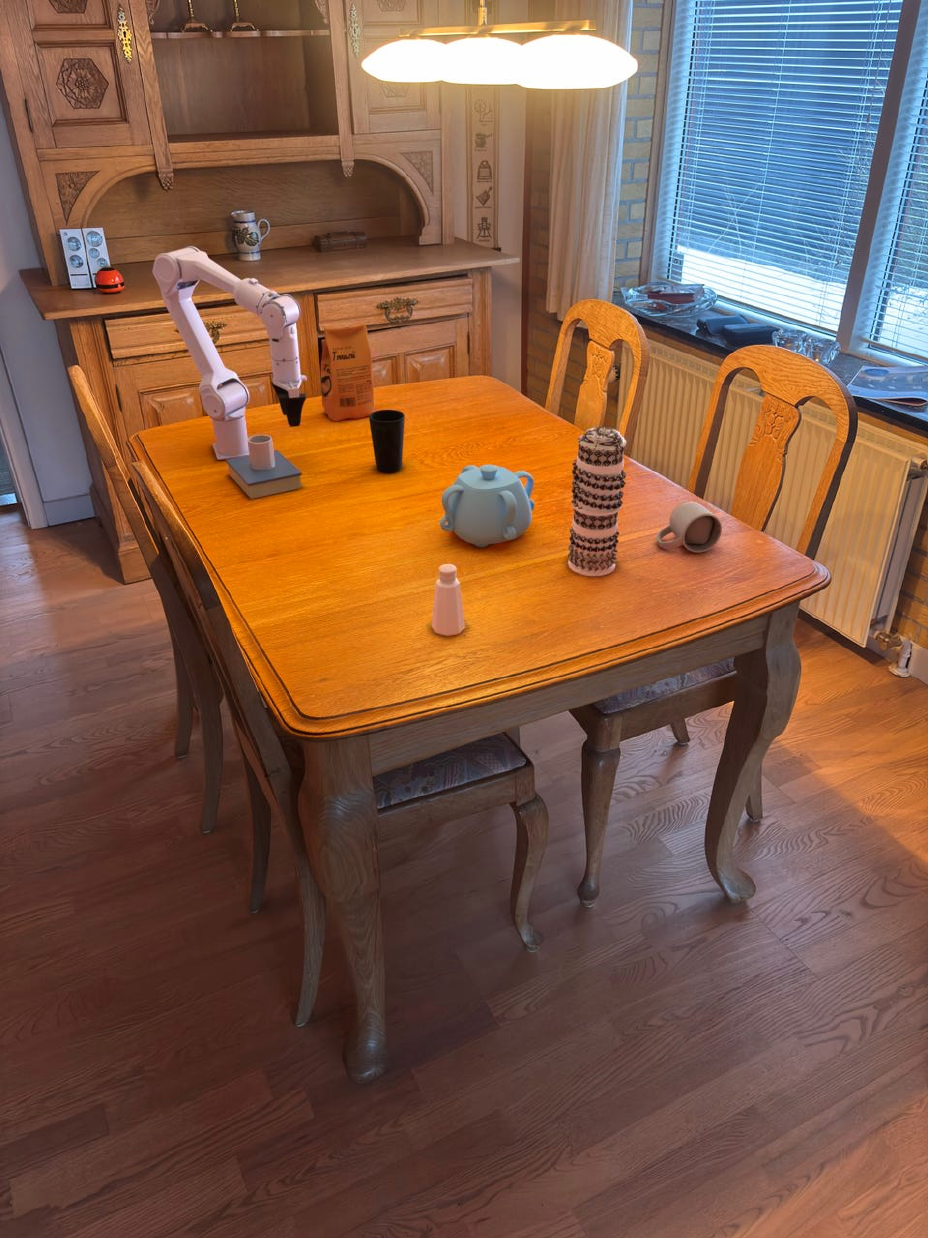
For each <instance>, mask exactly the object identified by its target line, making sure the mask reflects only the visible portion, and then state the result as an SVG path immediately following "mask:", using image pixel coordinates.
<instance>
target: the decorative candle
mask: <svg viewBox="0 0 928 1238" xmlns="http://www.w3.org/2000/svg"><path fill="white" fill-rule="evenodd" d="M577 442H578V451H577V456H576V459H574V460H573V463H572V466H573V467H572V468H573V469H572V470H571V474H572V475H573V477H572V481H571V484H572V489H571V490H570V491H571V493H572V500H571V505H572V507H573V518H572V522H571V523H572V524H571V528H570V529H569V532H570V536H569V538H568V539H569V541H570V542H569V545H568V551H569V552H568V554H567V557H568V561H567V565H568V567H569V569H570V570H572V572H574V573H576V574H579V575H582V576H586V577H602V576H606V575H610V573H612V572H614V571H615V569H616V560H618V557H617V553H618V551H619V550H618V548H617V546H618V543H619V539H618V537H619V535H620V532H619V531H618V530H619V529H618V526H619V521H618V517H619V511H621V509H622V505H623V504H624V502H623V500H622V498H623V497H624V495H625V493H624V492H623V491H622V490H621V489H623V488H625V486H626V485H627V484H626V481H625V479H626V478H627V472H625V470H624V469H623V468H624V467H625V466H624V465H625V458H624V453H625V447H626V446H627V444H628V441H627V439H626V438H625V437H623V436H622V435H621V433H620V432H619V431H618V430H617V429H615V428H611V427H606V426H596V427H591V428H589V429H587V430H586V431H585V432H584V433H583V434H582V435H580V436H579V437H578V438H577Z"/></svg>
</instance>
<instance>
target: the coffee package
mask: <svg viewBox="0 0 928 1238" xmlns="http://www.w3.org/2000/svg"><path fill="white" fill-rule="evenodd" d="M323 330H324V331H323V332H324V338H325V339H323V349H322V352H321V361H320V393H321V395H320V396H321V406H322V408H323V410H324V412H325V415H327V417H328V419H330V420H332V421H334V422H339V421H343V420H347V419H353V420H358V419H363V418H366V417H369V415H370V414H371V413H373V412H376V410H375V389H374V376H373V374H374V373H373V358H372V350H371V348H370V342H369V339H368V337H369V335H368V334H369V333H368V329H367V325H366V323H365V322H360V323H357V324H355V325H352V326H348V327H332V326H330V327H327V326H324V327H323Z"/></svg>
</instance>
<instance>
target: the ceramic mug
mask: <svg viewBox="0 0 928 1238" xmlns="http://www.w3.org/2000/svg"><path fill="white" fill-rule="evenodd" d="M722 531H723V526H722V522H721V520H720V518H719V517H718V516H716V515H715V514H714V513H713V512H712V511H710V510H709V509H708V508H706V507H705V506H704V505H702V504H701V503H698V502H695V501H691V500H689V501H684V502H682V503H680V504H678V505H677V506H676V507H674V509H673V510H672V512H671V513H670V516H669V525H666V526H665V527H664V528H662V529H660V530H659V531H658V532H657V534H656V541H657V544H658V547H660V548H661V549H663V550H672V549H675V548H678V547H681V546H683V547H684V548H685V549H686V550H688V551H689V552H691V553H698V554H699V553H704V552H708V551H709V550H712V548H713V547H715V546H716V545H717V544H718V543H719V541H720V539H721V536H722ZM671 533H673V535H674V536H675V539H673V540H669V541H663V538H664V537H666V536H667V535H669V534H671Z"/></svg>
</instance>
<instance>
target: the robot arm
mask: <svg viewBox="0 0 928 1238" xmlns="http://www.w3.org/2000/svg"><path fill="white" fill-rule="evenodd" d="M151 273H152V275H153V277H154V279H155V280H156V283H157V284H158V287H159V290H160V293H161V298H162V300H163V303H164V305H165V308H166V309H167V311H168V313H169V315H170V317H171V319H172V321H173V323H174V325H175V327H176V328H177V329H176V330H177V331H178V333H179V335H180V337H181V339H182V341H183V343H184V345H185V348H186V349H187V351H188V352H189V354H190V356H191V359H192V361H193V362H194V365H195V366H196V369H197V371H198V372H199V373H198V374H200V376H201V381H200V383H199V385H198V389H197V391H198V393H199V395H200V398H201V404H202V405H201V406H202V408H203V410H204V412H205V413H206V414H207V415H208V416H209V419H211V421H212V426H213V433H214V435H213V436H214V440H215V443H213V444H212V448H213V451H214V453H215V456H216V459H217V461H222V460H227V459H233V458H238V457H243V456H248V455H249V448H248V441H247V440H248V438H249V436H248V430H247V429H248V428H247V422H246V411H247V408H246V406H247V405H248V404H249V403H250V397H251V396H250V392H249V389H248V387H247V385H245V384H244V383H243V382H242V381H241V379H240V378H239V376H238V374H237V373H236V372H235V371H233V370H231V369H229V368H227V367H226V366H225V364H224V363H223V361H222V358H221V357H220V355H219V352H218V350H217V348H216V346H215V344H214V342H213V340H212V337H211V336H210V334H209V332H208V330H207V328H206V326H205V324H204V322H203V320H202V317H201V316H200V314H199V311H198V309H197V307H196V306H195V304H194V302H193V299H192V296H193V293H194V291H195V288H196V287H197V285H198V284H199V282H200V281H204V282H206V283H208V284H209V285H211V286H213V287H216V288H218V289H220V290H222V291H224V292H226V293H228V294H230V295H232V296H233V298H234V302H235V303H236V304H237V305H238V306H240V307H242V308H243V309H244V310H247V311H248V312H250V313H252V314H254V315H255V316H257V317H259V318H260V320H261V322H262V324H263V325H264V327H265V329H266V335H267V336H268V339H269V340H268V341H269V348H270V349H269V350H270V359H271V360H270V361H271V367H272V381H271V382H270V384H271V387H272V388H273V389H274V391H275V393H276V396H277V399H278V402H279V406H280V410H281V412H282V414H283V416H286V419H287V423H288V425H289V427H290V428H295V427H300V425H301V420H302V411H303V407H304V404H305V402H306V400H307V394H306V393H305V392H303V393H300V391H299V389H300V386H301V384H302V382H307V380H308V379H307V376H306V375H305V374H301V363H300V353H299V342H298V341H299V340H298V331H297V322H298V321H299V320H300V318H301V306H300V304H299V303H298V301H297V299H296V298H294V297H293V296H291V294H288V293H285V294H278V292H277V291H275V290H270V289H269V288H267V287H266V286H264V285H262V284H260V283H259V280H258V279H256V278H254V277H251V278H249V277H247V278H244V279H240V278H239V277H237V276H236V275H235V274H233V273H232V272H230V271H229V270H227V269H225V268H224V267H222V266H221V265H219V264H218V263H216V262H215V261H214V260H212V259H211V258H209V257H208V254H207V253H206V252H205V251H203V250H200V249H199V248H197V247H196V246H192V245H188V246H186V247H183V248H180V249H176V250H173V251H170V252H169V251H168V252H163V253H162V252H161V253H159V254H158V255H156V257H155V259H154V262H153V267H152V271H151ZM219 385H220V386H219Z"/></svg>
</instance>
